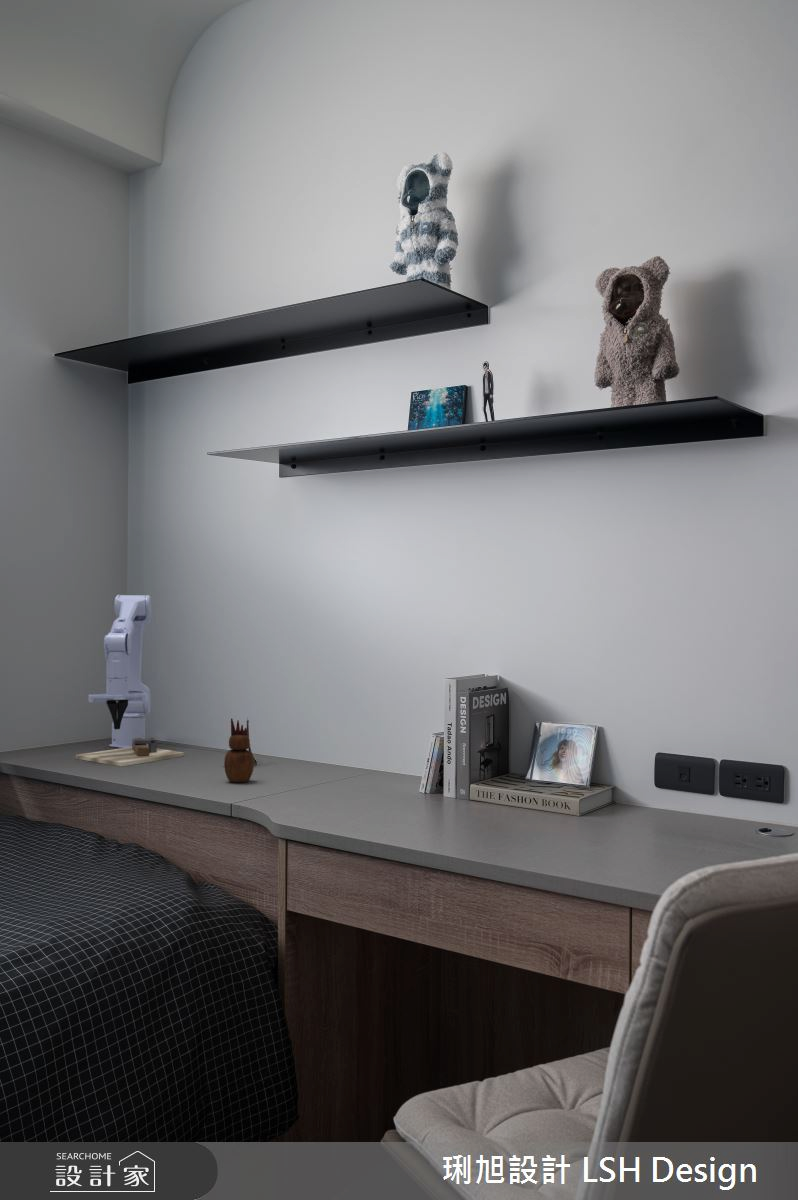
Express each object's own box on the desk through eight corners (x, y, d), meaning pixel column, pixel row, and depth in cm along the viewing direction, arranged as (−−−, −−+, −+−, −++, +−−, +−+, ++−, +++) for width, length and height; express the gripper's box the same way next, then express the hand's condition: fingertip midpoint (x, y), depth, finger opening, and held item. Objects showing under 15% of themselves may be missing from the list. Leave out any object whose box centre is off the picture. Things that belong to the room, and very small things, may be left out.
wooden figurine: (220, 782, 226) (220, 719, 226) (231, 778, 232) (232, 716, 232) (246, 784, 224) (247, 720, 224) (257, 780, 230) (257, 717, 230)
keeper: (131, 751, 265) (132, 739, 265) (154, 750, 267) (154, 738, 267) (134, 753, 261) (134, 741, 261) (156, 752, 264) (156, 740, 264)
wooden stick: (131, 747, 271) (131, 736, 271) (143, 746, 272) (143, 736, 272) (137, 755, 256) (137, 744, 256) (149, 755, 257) (149, 744, 257)
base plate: (75, 758, 258) (75, 754, 258) (139, 749, 275) (139, 745, 275) (121, 766, 247) (121, 762, 247) (184, 756, 264) (184, 752, 264)
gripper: (89, 679, 250) (89, 731, 250) (147, 678, 255) (146, 729, 255) (88, 677, 256) (87, 728, 256) (144, 676, 262) (143, 726, 262)
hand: (117, 728), depth 256 cm, fingers closed
